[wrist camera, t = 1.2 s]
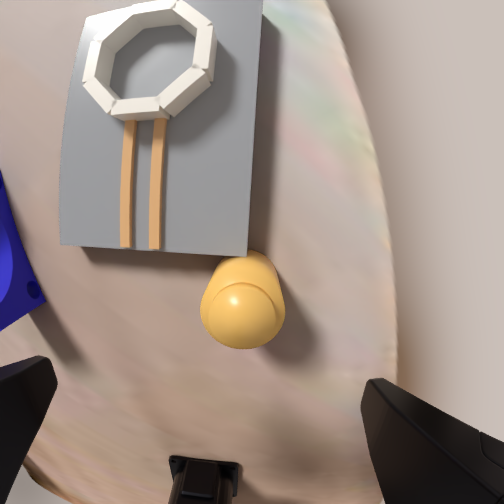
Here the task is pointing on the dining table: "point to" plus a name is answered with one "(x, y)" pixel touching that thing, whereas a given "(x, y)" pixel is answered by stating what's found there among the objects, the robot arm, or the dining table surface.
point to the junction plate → (162, 128)
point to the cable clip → (14, 270)
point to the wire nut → (243, 302)
